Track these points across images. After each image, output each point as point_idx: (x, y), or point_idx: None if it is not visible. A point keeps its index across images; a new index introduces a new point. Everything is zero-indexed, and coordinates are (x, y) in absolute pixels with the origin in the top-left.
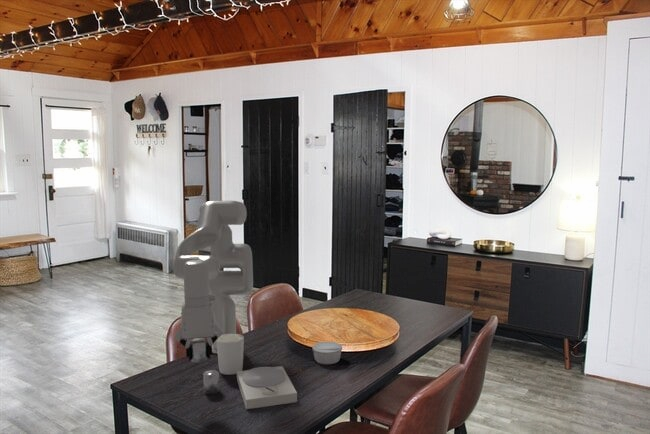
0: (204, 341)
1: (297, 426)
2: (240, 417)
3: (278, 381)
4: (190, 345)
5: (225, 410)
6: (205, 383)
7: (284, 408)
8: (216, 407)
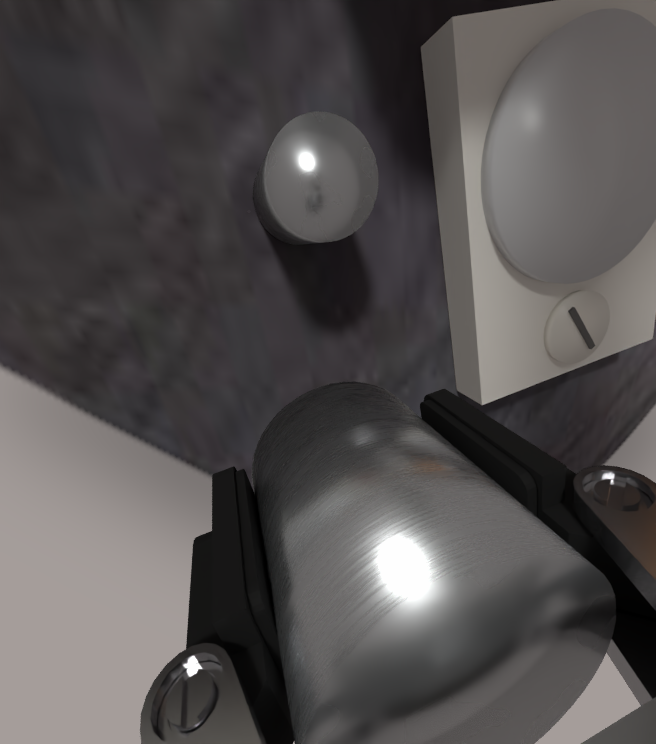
0: (566, 683)
1: None
2: None
3: (631, 248)
4: (263, 616)
5: None
6: (280, 231)
7: (570, 376)
8: (347, 381)
